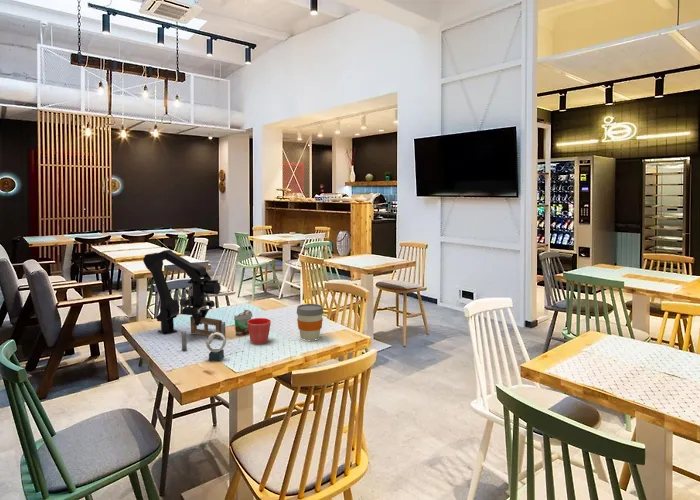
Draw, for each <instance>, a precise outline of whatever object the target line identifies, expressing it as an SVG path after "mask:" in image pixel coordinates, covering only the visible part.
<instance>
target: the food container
mask: <svg viewBox="0 0 700 500" xmlns="http://www.w3.org/2000/svg"><path fill="white" fill-rule="evenodd" d="M252 318H253V313H252V311H251V310H248V309H244V310H243V312H240V313H239V314H237V315H234V318H233V320H234V328H235V329H234V330H235V331H234V332H235V336H245V335H249V331H248V324H247V321H248V320H250V319H252Z"/></svg>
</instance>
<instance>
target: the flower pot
mask: <svg viewBox="0 0 700 500" xmlns="http://www.w3.org/2000/svg"><path fill="white" fill-rule="evenodd" d="M247 324H248V331H249V334H248V335H249V341H250V343H252V344H254V345H263V344H265V343H267V342H268V340H269V335H270V329H271V324H272V323H271V319H269V318H265V317H257V318H251V319H250V320H248V321H247Z"/></svg>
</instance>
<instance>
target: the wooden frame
mask: <svg viewBox="0 0 700 500" xmlns="http://www.w3.org/2000/svg"><path fill="white" fill-rule="evenodd" d="M189 318H190V333H191V334H197V335H203V336H208V337H209V336H210V335H211V334H212V333H215V332H219V333H221V322H223V320H222V319H217V318H210V317H209V318H208V317H205V318H204V317H201V319H200V323H202V324H201V325H203V329H199V328H198V326H196V323H195V321H194V318H193V316H192V315H190V317H189ZM209 325H210V326H213V327H214V326H215V331H213V330H212V331H211V330H209ZM214 338H220V339H221V336H219V335H215V337H214Z"/></svg>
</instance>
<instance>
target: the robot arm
mask: <svg viewBox="0 0 700 500" xmlns="http://www.w3.org/2000/svg"><path fill="white" fill-rule="evenodd" d="M165 260H166V261H167V262H169V263H171V264H172V265H175V266H176V267H177V268H178V269H181V270H182V271H184V272H185V274H186V275H187V276H188V277H189V278H190V279H189V280H188V281H187V284H191V295H189V298H187V299H186V298H181V299H179V300H177V299H174V298H172V295H171V292H170V290H169V286H168V283H167V281H166V277H165V273H164V271H163V266H164V261H165ZM142 261H143V265H144V266H145V267H146V269H147V270H148V271H149V272H150V273H151V275H152V278H153V281H154V284H155V286H156V290H157V293H158V296H159V300H160V305H159V310H160V312H159V313H158V314H157V315H156V317H155V319H156V321H157V322H160V329H159V330H157V332H159V333H161V334H163V335H166V334H171V333H174V332H175V333H176V332H177V329H175V326H174V325H175V323H174V319H176V318H177V317H178V314H179V312H180V308H181V307H182V309H181V315H186V316H193V318H194V321H195V323H196V326H197V327H198V326H200V325H203V324H202V323H200V319H201V317H204V318H206V316H207V314H208V313H209V311H210V308H214V307H216V306H215V305H216V302H214V300H209V299H206V297H208V296H207V295H215V296H216V295H219V294H220V292H221V290H222V287H221V284H220V283H219V280H218V279H212V277H211V276H210V274H209V273H208V271H207V269H206V267H204V266H203V265H200V264H197V263H193V262H190V261H189V260H187V259H186V258H183V257H182V256H180V255H179V254H177V253H175V252H174V251H173V250H171V249H166V250H165V249H164V250H162V251H160V252H152V253H146V254H145V255H144V257H143V258H142ZM178 301H179V302H178ZM208 307H210V308H208Z"/></svg>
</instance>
